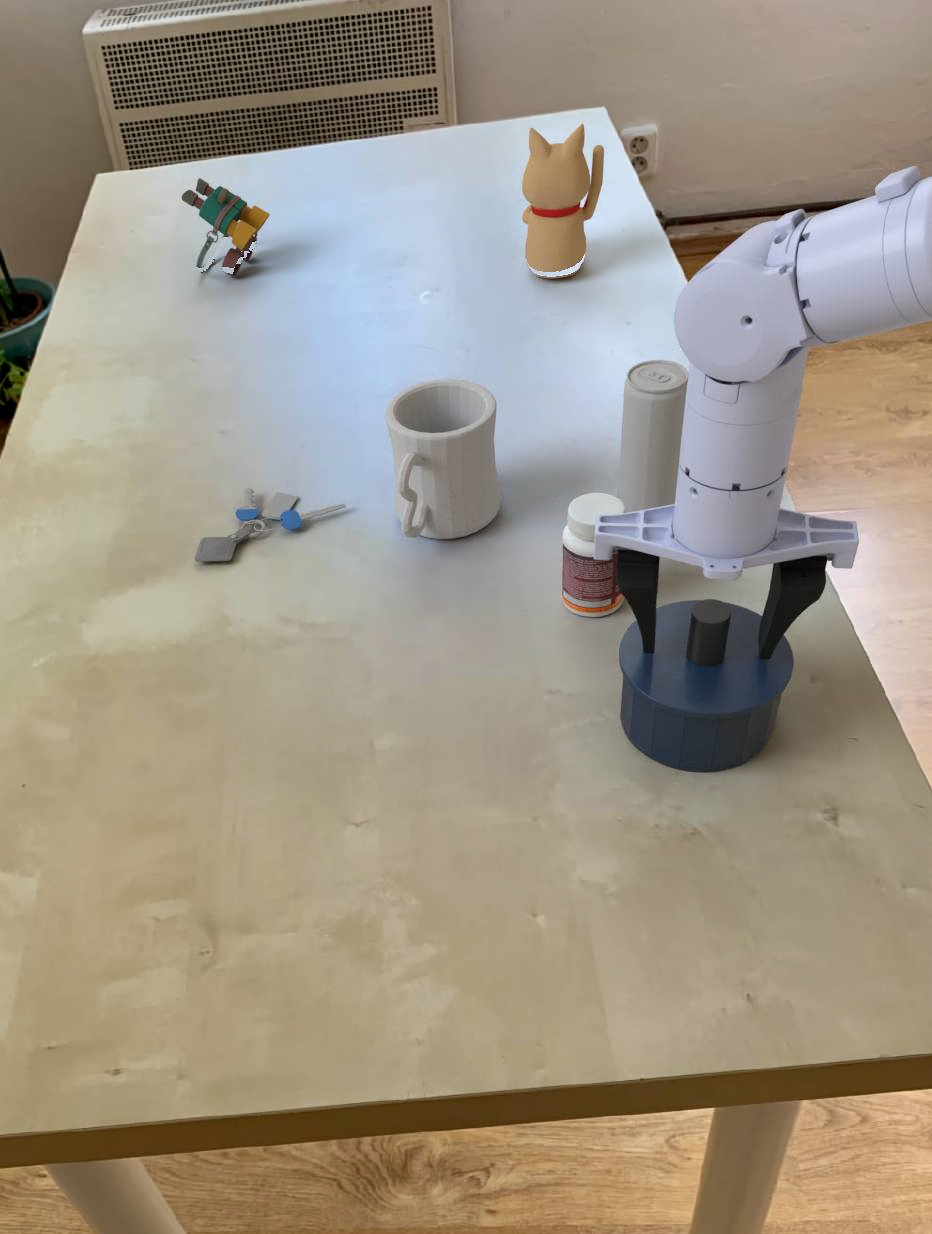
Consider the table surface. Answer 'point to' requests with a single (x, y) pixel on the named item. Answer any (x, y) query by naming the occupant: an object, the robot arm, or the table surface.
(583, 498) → the pill bottle
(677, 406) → the beverage can
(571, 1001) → the table surface
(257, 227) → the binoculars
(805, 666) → the table surface
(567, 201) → the figurine
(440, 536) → the mug
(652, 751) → the pot
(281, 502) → the key chain
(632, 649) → the lid
